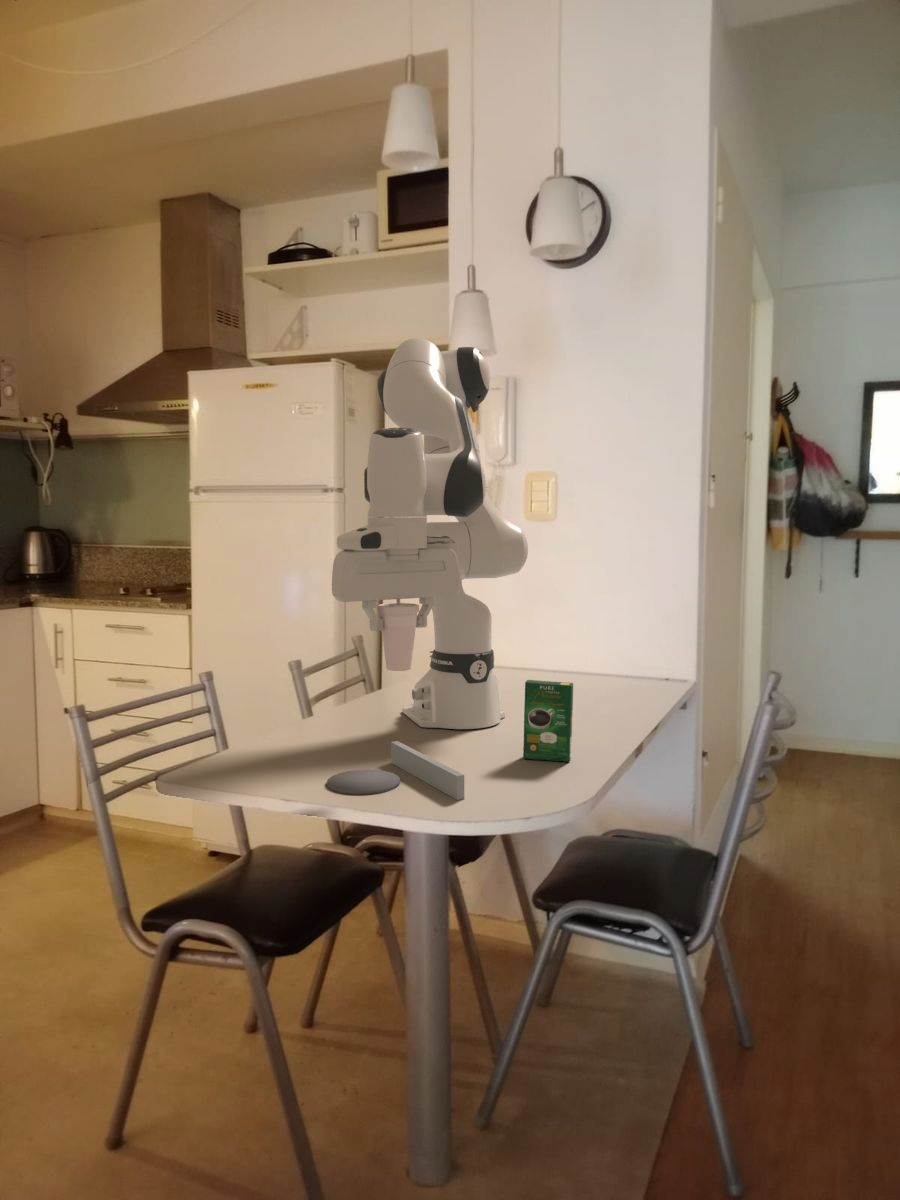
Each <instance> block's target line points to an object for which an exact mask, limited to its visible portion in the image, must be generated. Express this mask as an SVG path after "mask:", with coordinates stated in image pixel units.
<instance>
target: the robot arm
mask: <svg viewBox="0 0 900 1200" xmlns="http://www.w3.org/2000/svg"><path fill="white" fill-rule="evenodd" d="M490 372H491V371H490V368H489V365H488V362H487V360H486V359H485V357H484V356H483V354H482V352H481V351H480V349H478V348H477V347H473V346H461V347H458V348H457V349H450V350H442V351H440V349H439V347H437V345H436V344H435V343H433V342H431V341H430V340H428V339H426V338H422V337H414V338H413V337H412V338H408V339H406V340H405V341H403V342H401V343H400V344H399V345H398V346H397V347H396V349H395V350H394V352H393V354H392V357H391V358H390V361H389V363H388V366H387V367H386V368H385V369H384V370H382V372H381V373H380V375H379V377H378V379H377V395H378V400H379V403H380V405H381V407H382V409H383V410H384V413H385V414H386V415H387V416H388V418H389V419H390V420H391V421H392V423H394V424H395V425H396V426H398V427H389V428H379V429H376V430H375V431H373V432H372V433H371V435H370V440H369V445H368V455H367V467H366V468H365V469H364V472H363V478H364V490H363V491H364V499H365V500H366V501H367V502H368V503H369V508H368V510H367V511H368V512H367V525H365V526H362V527H358V528H356V529H353V530H351V531H348V532H345V533H342V534H340V535H338V536H337V537H336V546H337V548H338V550H340V551H339V552H338V553H337V554H336V555H335V557H334V558H333V559H334V560H333V564H332V571H331V593H332V596H333V597H334V599H335V600H336V601H339V602H342V603H352V602H353V603H354V602H361V605H362V607H361V608H362V610H363V611H364V613H365V615H366V616H367V617H368V619H369V630H370V631H372V632H382V630H383V629H384V626H383V623H384V622H383V619H380V617H378V615H377V612H376V611H375V610H374V609H377V606H378V605H377V603H378V602H377V601H386V600H388V601H389V600H396V599H400V600H405V599H418V602H419V604H421V607H420V608H419V612H417V621H416V628H417V629H418V628H419V629H420V628H426V627H427V626H428V616H429V614H430V612H431V611H432V619H433V630H434V633H433V634H434V649H433V650H431V651H429V653H430V654H431V655H429V658H430V663H429V667H430V669H429V670H428V671H427V672H426V673H425V674H424V675H423V676H422V677H421V678H420V679H419V680H418V681H417V682H416V683H415V684H414V688H413V689H412V690H411V698H412V700H413V703H412V704H409V705H405V706H403V707H402V711H401V712H402V713H403V714H404V715H406V717H408V718H409V719H410V720H411V721H412V722H414V723H415V724H416V725H418V726H419V727H420V728H436V729H437V728H439V729H447V730H448V729H449V730H451V729H453V730H473V729H483V728H488V727H492V726H495V725H497V724H499V723H500V722H501V719H503V718H505V717H506V712H505V710H501V699H500V687H499V678H498V676H497V675H496V674H495V673H494V671H493V669H495V655H494V654H495V653H494V650H493V649H492V613H491V611H490V609H489V607H488V606H487V604H485V603H484V602H482V600H479V599H478V598H476V597H473V596H471V595H469V594H467V593H466V592H465V591H464V588H463V582H462V580H466V579H468V580H469V579H471V580H472V579H475V580H476V579H497V578H502V577H507V576H510V575H513V574H518V573H519V572H520V571H521V570H522V569H523V568H524V566H525V563H526V562H527V559H528V555H529V554H528V553H529V544H528V540H527V538H526V535H525V533H524V531H523V530H522V529H521V528H520V527H519V526H518V525H516V524H514V523H513V522H512V521H510V520H509V519H508V518H506V517H505V516H504V515H503V514H502V513H501V512H500V511H499V509H498V508H497V507H496V506H495V503H494V502H493V501H492V499H491V497H490V495H489V493H488V490H487V483H486V482H487V481H486V475H485V471H484V468H483V467H482V461H481V453H480V445H479V441H478V436H477V433H476V432H477V431H476V428H475V425H474V422H473V419H472V417H471V414H470V412H469V411H470V410H469V409H470V408H471V410H472V412H473V413H476V412H477V411H479V407H480V404H481V403H482V402H484V400H485V399H486V397H487V395H488V393H489V390H490V382H491V373H490ZM422 435H423V436H422ZM427 516H448V517H454V518H455V519H456V520H457V521H436V522H435V521H433V522H432V521H431V522H428V517H427Z"/></svg>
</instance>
